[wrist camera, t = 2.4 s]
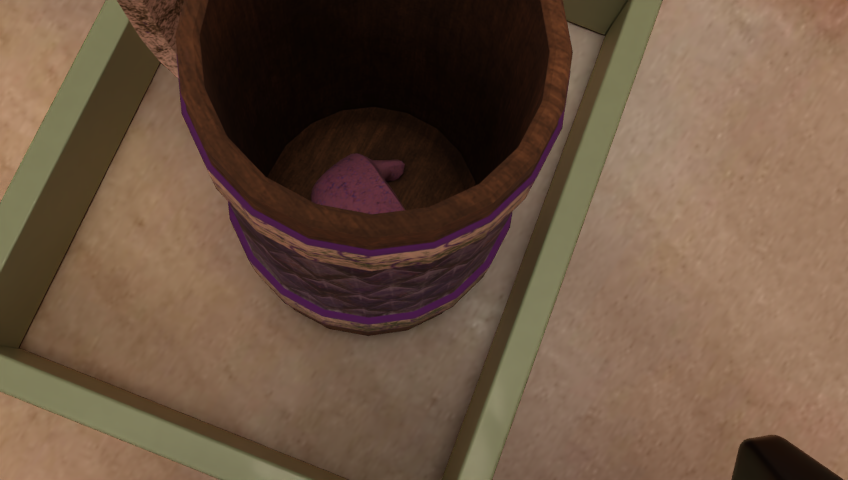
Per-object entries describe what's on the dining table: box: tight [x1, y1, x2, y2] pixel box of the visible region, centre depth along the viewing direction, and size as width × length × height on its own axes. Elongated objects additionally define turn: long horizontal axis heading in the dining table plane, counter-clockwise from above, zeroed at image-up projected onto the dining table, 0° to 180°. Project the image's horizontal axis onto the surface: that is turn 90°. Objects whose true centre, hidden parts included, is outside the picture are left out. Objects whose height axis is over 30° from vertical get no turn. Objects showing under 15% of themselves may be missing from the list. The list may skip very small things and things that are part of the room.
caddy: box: [0, 0, 663, 480], centre depth 22 cm, size 14×17×3 cm
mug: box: [117, 0, 573, 336], centre depth 18 cm, size 10×7×12 cm
